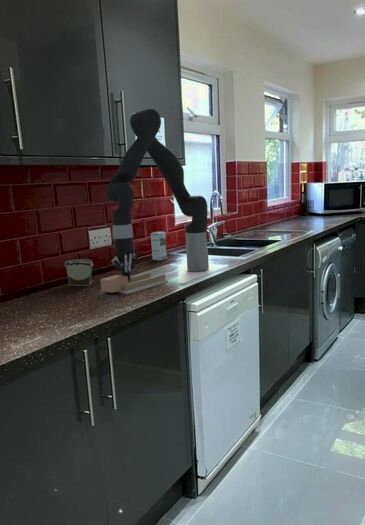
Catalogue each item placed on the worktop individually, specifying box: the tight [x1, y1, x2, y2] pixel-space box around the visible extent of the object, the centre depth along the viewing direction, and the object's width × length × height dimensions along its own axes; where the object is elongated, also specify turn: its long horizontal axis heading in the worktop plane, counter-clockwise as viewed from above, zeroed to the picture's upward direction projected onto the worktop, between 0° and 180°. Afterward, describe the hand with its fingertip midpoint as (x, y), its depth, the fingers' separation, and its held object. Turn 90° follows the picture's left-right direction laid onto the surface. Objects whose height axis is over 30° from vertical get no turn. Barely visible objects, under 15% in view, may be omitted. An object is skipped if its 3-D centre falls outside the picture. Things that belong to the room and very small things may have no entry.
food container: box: [64, 258, 94, 287], centre depth 180 cm, size 12×6×10 cm, turn 74°
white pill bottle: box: [150, 231, 168, 261], centre depth 230 cm, size 6×6×14 cm
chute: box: [116, 271, 169, 295], centre depth 172 cm, size 22×12×3 cm, turn 140°
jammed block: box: [100, 274, 128, 293], centre depth 163 cm, size 8×6×4 cm
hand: (126, 281), depth 167 cm, fingers closed
